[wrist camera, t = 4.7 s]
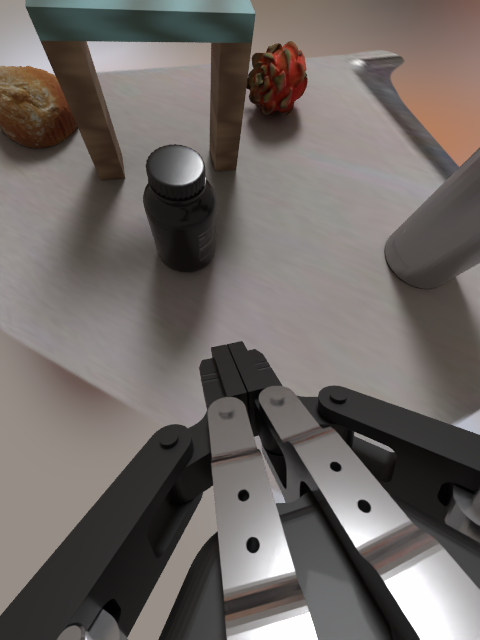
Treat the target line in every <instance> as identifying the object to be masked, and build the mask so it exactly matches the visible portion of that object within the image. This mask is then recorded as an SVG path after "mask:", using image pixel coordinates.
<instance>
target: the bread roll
mask: <svg viewBox="0 0 480 640" xmlns="http://www.w3.org/2000/svg"><path fill="white" fill-rule="evenodd" d="M76 127H77V124H76V122H75V119H74V117H73V115H72V112H71V110H70V108H69V105H68V103H67V101H66V99H65V96H64V94H63V92H62V89H61V87H60V85H59V82H58V80H57V78H56V77H55V76H54V75H53V74H50V73H48V72H47V71H44V70H41V69H36V68H33V67H30V66H26V67H21V66H20V67H14V66H12V67H5V66H0V131H1V132H5V134H6V135H8V136H9V138H10V139H12V140H14V141H16V142H18V143H19V144H21V145H24V146H27V147H30V148H44V147H50V146H54V145H57V144H59V143H60V142H62V141H63V140H64V139H66V138H67V137H69V136H70V135H71V134H72V133H73V132H74V131H75V130H76Z"/></svg>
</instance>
